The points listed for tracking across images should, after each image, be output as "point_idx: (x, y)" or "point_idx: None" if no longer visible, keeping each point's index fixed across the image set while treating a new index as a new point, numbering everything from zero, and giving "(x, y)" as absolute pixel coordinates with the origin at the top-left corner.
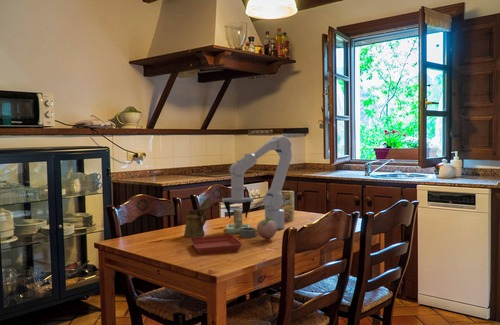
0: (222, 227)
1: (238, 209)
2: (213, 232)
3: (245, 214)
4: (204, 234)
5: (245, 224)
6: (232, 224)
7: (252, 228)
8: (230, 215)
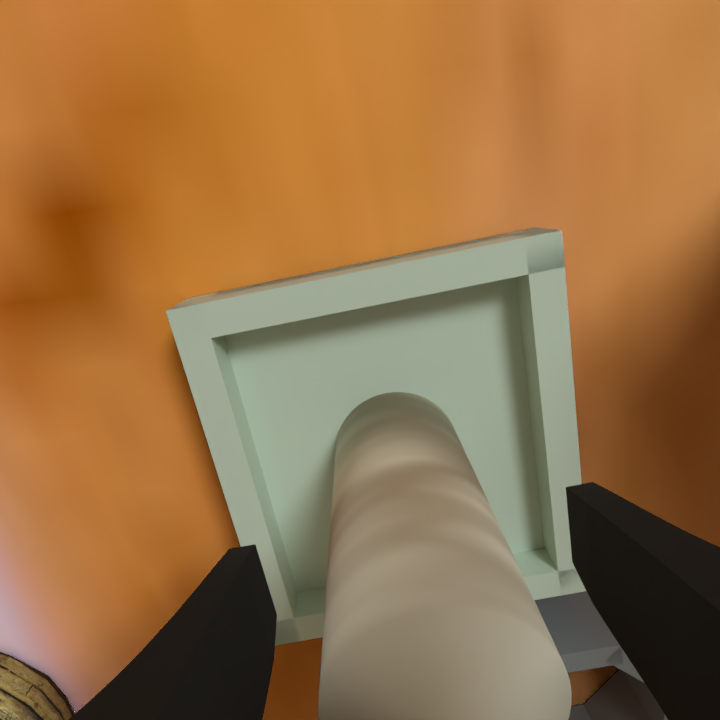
0: (90, 227)
1: (449, 627)
2: (106, 559)
3: (614, 632)
4: (70, 716)
5: (491, 281)
6: (268, 313)
7: (641, 679)
8: (245, 568)
